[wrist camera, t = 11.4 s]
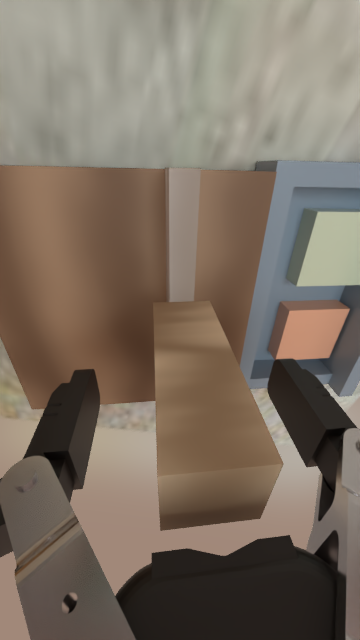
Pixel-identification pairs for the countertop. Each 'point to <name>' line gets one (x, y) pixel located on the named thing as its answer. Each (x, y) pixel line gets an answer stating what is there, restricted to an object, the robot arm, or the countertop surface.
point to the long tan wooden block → (202, 392)
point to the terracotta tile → (307, 329)
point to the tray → (272, 286)
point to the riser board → (115, 270)
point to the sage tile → (326, 248)
